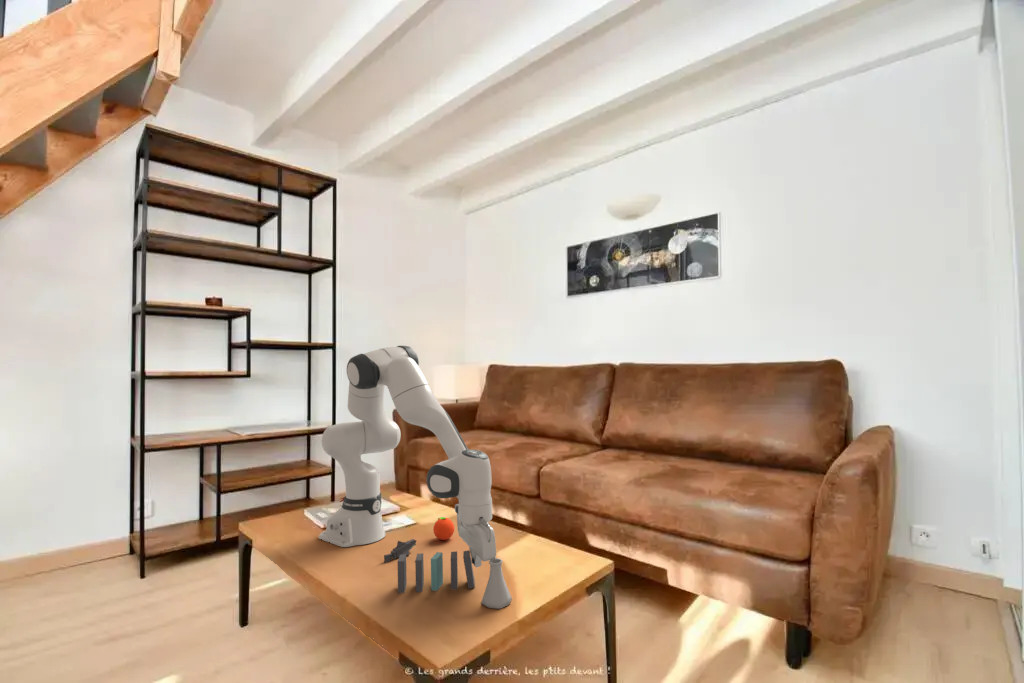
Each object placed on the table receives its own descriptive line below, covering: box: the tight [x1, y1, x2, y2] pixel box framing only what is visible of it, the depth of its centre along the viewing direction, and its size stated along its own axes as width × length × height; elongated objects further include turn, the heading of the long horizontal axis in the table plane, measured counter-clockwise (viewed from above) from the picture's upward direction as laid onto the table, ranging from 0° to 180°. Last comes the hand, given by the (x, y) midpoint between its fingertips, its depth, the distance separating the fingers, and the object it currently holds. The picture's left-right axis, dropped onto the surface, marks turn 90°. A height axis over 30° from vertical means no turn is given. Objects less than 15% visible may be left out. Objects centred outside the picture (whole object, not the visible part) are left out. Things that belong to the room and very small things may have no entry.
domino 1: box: [397, 554, 408, 594], centre depth 126 cm, size 2×4×8 cm, turn 5°
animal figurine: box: [383, 538, 417, 564], centre depth 147 cm, size 12×4×5 cm, turn 140°
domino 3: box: [430, 551, 444, 592], centre depth 127 cm, size 2×4×8 cm, turn 168°
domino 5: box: [462, 549, 476, 589], centre depth 128 cm, size 2×4×8 cm, turn 5°
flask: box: [480, 557, 513, 609], centre depth 119 cm, size 7×7×10 cm
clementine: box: [433, 516, 456, 541], centre depth 160 cm, size 8×7×7 cm
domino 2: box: [414, 552, 425, 593], centre depth 127 cm, size 2×4×8 cm, turn 5°
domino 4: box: [450, 551, 459, 591], centre depth 127 cm, size 2×4×8 cm, turn 5°
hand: (476, 564), depth 128 cm, fingers closed
